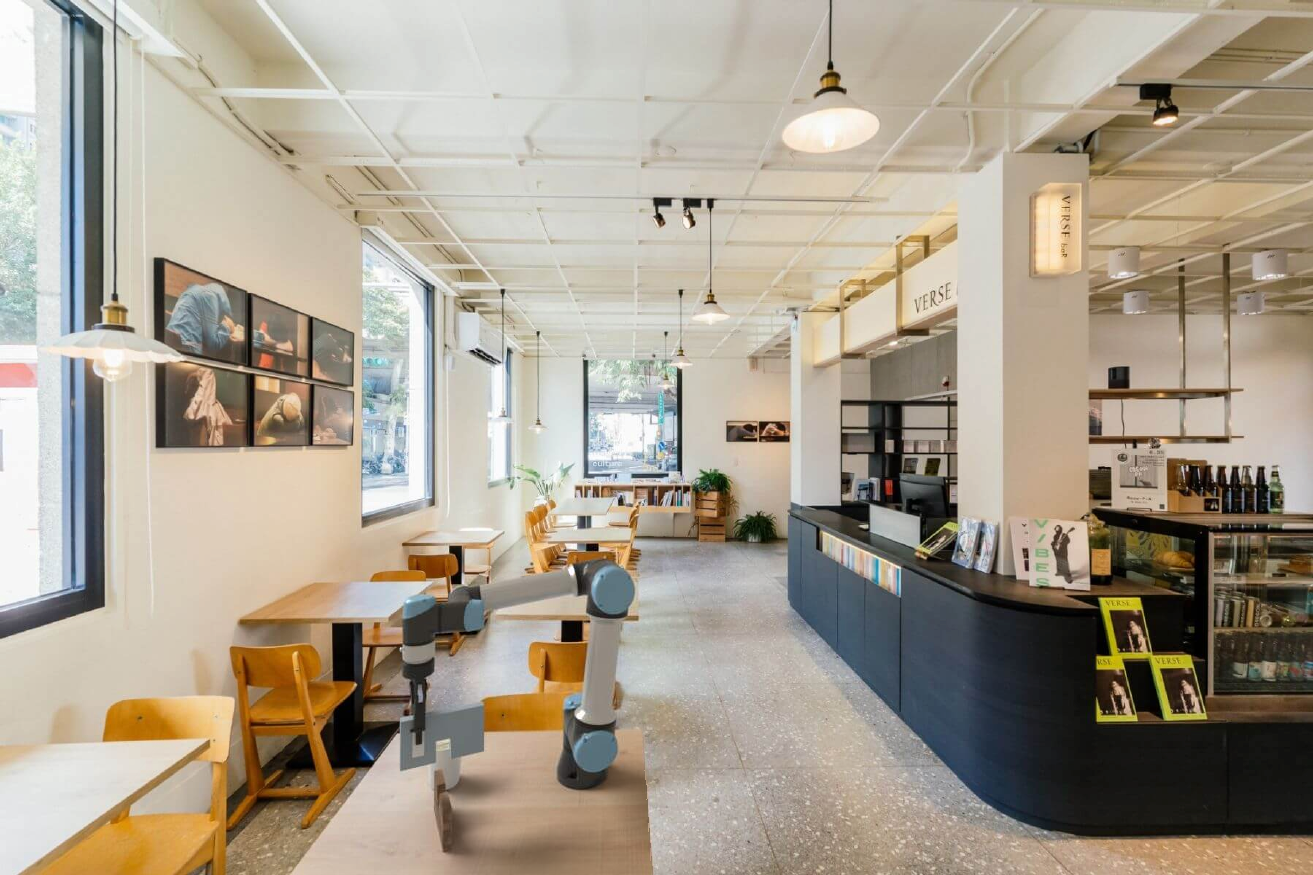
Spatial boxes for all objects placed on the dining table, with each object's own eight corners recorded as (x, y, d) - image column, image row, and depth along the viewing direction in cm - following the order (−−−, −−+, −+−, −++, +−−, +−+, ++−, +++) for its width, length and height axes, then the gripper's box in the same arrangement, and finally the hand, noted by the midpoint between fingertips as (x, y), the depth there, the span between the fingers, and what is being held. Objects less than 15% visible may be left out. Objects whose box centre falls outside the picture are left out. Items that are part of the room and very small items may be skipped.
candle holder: (450, 795, 158) (450, 751, 158) (418, 790, 160) (419, 747, 160) (468, 774, 168) (469, 734, 168) (438, 770, 170) (439, 730, 170)
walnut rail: (441, 806, 153) (442, 768, 153) (451, 848, 137) (451, 807, 137) (433, 808, 152) (434, 770, 152) (442, 851, 136) (442, 809, 136)
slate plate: (482, 746, 151) (482, 701, 151) (484, 751, 149) (484, 705, 149) (399, 766, 141) (400, 717, 142) (400, 771, 139) (400, 722, 139)
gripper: (400, 650, 148) (399, 741, 147) (404, 672, 134) (403, 772, 134) (431, 646, 151) (430, 734, 151) (438, 666, 137) (437, 764, 137)
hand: (417, 752), depth 142 cm, fingers closed on slate plate, 2 cm apart
